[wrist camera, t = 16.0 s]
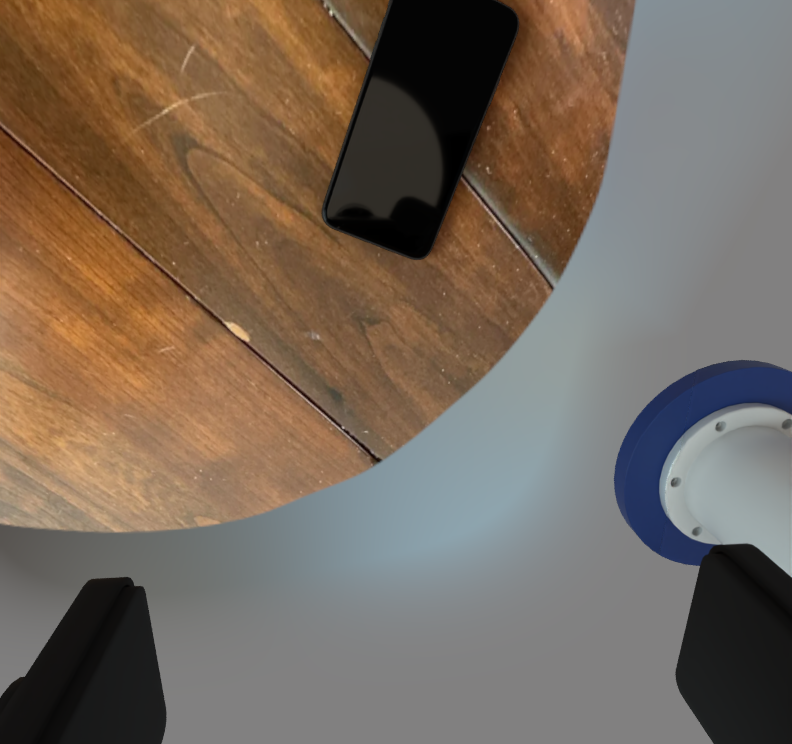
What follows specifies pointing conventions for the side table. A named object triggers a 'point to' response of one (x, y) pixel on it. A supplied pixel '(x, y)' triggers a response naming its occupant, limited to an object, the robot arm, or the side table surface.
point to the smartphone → (418, 120)
